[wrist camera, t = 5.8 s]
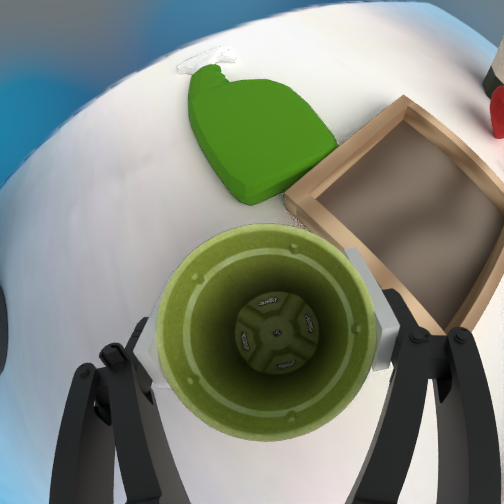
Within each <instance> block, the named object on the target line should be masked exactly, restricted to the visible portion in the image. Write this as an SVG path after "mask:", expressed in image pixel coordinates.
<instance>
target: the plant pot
mask: <svg viewBox="0 0 504 504" xmlns="http://www.w3.org/2000/svg"><path fill="white" fill-rule="evenodd" d="M269 298H277V299H278V301H277V302H273V303H269V304H266V305H263V306H259V304H260V302H261V301H265V300H267V299H269ZM374 311H375V309H374V305H373V301H372V298H371V296H370V293H369V291H368V289H367V286H366V284H365V282H364V280H363V279H362V277H361V275H360V273H359V272H358V270H357V269H356V268H355V267H354V265H353V264H352V263H351V262H350V261H349V260H348V258H347V257H346V256H345V255H344V254H343V253H342V252H341V251H340V250H338V249H337V248H336V247H335V246H333V245H332V244H330V243H329V242H328V241H326V240H325V239H323V238H321V237H319V236H317V235H315V234H313V233H311V232H309V231H306V230H303V229H300V228H297V227H292V226H287V225H281V224H271V223H258V224H250V225H245V226H240V227H237V228H234V229H231V230H227V231H225V232H223V233H220V234H218V235H216V236H214V237H212V238H211V239H209V240H208V241H206V242H204V243H203V244H201V245H200V246H198V247H197V248H196V249H195V250H193V251H192V252H191V253H190V254H189V255H188V256H187V257H186V258H185V259H184V261H183V262H182V263H181V264H180V265H179V266H178V268H177V269H176V271H175V272H174V273H173V275H172V276H171V278H170V280H169V281H168V283H167V286H166V288H165V290H164V292H163V295H162V298H161V301H160V304H159V309H158V313H157V321H156V339H157V348H158V354H159V359H160V362H161V366H162V369H163V371H164V374H165V376H166V378H167V381H168V383H169V384H170V386H171V388H172V389H173V391H174V393H175V394H176V395H177V396H178V398H179V399H180V400H181V402H182V403H183V404H184V405H185V406H186V407H187V408H188V409H189V410H190V411H191V412H192V413H193V414H194V415H195V416H197V417H198V418H199V419H201V420H202V421H203V422H204V423H206V424H207V425H209V426H210V427H212V428H214V429H216V430H218V431H220V432H222V433H225V434H227V435H230V436H233V437H236V438H241V439H245V440H251V441H262V442H268V441H281V440H286V439H291V438H295V437H298V436H302V435H305V434H307V433H310V432H312V431H314V430H316V429H318V428H320V427H322V426H323V425H325V424H326V423H328V422H329V421H331V420H332V419H334V418H335V417H336V416H337V415H338V414H340V413H341V412H342V411H343V410H344V409H345V408H346V407H347V406H348V405H349V404H350V402H351V401H352V400H353V399H354V397H355V396H356V395H357V393H358V392H359V390H360V389H361V387H362V385H363V383H364V382H365V380H366V378H367V375H368V373H369V371H370V369H371V366H372V363H373V360H374V355H375V350H376V342H377V329H376V321H375V313H374ZM305 315H308V316H309V317H310V319H311V321H312V323H313V332H312V333H309V331H308V324H307V321H306V317H305ZM275 330H280V332H281V334H280V336H278V337H276V336H274V335H273V332H274V331H275ZM243 332H245V333H246V337H247V343H248V345H249V347H250V350H249V351H247V350H246V349H245V348H244V347H243V343H242V333H243ZM293 360H295V364H294V365H292V366H289V367H286V368H278V367H277V365H278V364H282V363H287V362H290V361H293Z"/></svg>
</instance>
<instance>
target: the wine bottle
mask: <svg viewBox="0 0 504 504" xmlns="http://www.w3.org/2000/svg"><path fill="white" fill-rule="evenodd" d="M483 86H484V90H485V93H486V95H487V96H488V97H489V98H490V99H491V97H492V93H493V92H494V91H495V89H496V88H497V87H498V86H504V36H503V39H502V41H501V44H500V46H499V49H498V51H497V53H496V56H495V58H494V60H493V62H492V65H491V67H490V69H489V71H488V73H487V75H486V77H485V79H484V81H483Z"/></svg>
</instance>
